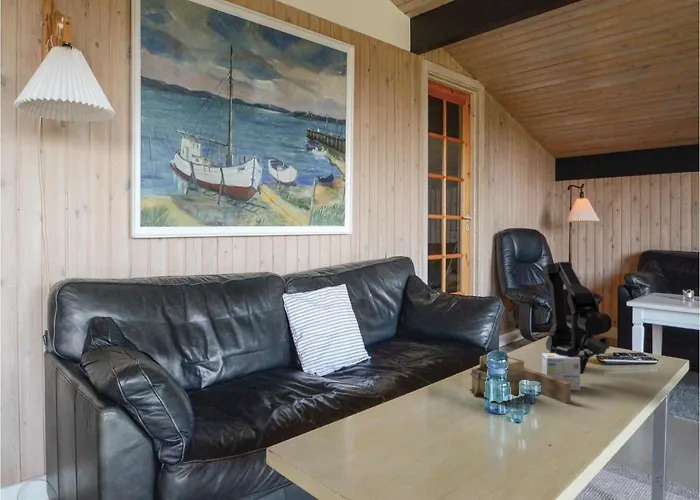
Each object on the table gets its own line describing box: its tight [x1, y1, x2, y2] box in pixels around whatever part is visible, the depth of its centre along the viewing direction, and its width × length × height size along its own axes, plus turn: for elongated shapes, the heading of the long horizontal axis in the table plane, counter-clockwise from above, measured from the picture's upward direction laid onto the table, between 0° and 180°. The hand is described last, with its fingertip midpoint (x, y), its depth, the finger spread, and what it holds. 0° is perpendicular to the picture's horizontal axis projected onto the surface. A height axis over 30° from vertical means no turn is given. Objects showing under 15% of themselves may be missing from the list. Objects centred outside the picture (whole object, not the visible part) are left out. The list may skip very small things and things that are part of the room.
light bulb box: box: [541, 352, 581, 391], centre depth 160 cm, size 11×7×11 cm, turn 83°
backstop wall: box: [524, 367, 572, 404], centre depth 156 cm, size 22×2×6 cm, turn 26°
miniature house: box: [469, 354, 526, 398], centre depth 156 cm, size 15×14×11 cm
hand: (581, 373), depth 165 cm, fingers closed
